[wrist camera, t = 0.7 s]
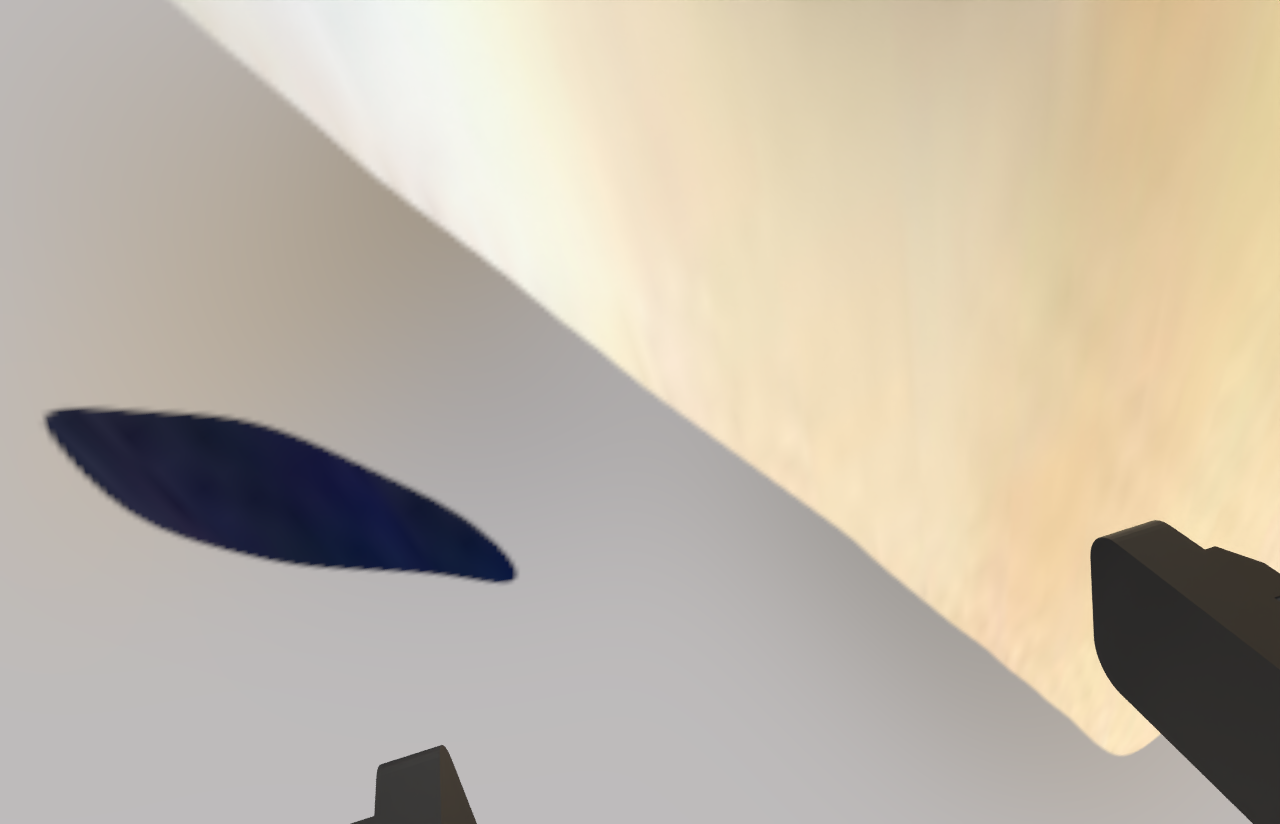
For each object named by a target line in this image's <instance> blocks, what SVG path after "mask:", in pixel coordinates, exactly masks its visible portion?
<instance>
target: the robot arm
mask: <svg viewBox="0 0 1280 824" xmlns="http://www.w3.org/2000/svg"><path fill="white" fill-rule="evenodd" d="M1091 580H1092V603H1093V626H1094V642H1095V648H1096V652H1097V655H1098V658H1099V661H1100V663H1101V665H1102V667H1103V670H1104V672H1105V673H1106V675H1107V677H1108V678H1109V680H1110V681H1111V683H1112V684H1113V686H1114V687H1115V688H1116V689H1117V690H1118V692H1119V693H1120V694H1121V695H1122V696H1123V697H1124V698H1125V699H1126V700H1127V701H1128V702H1129V703H1131V704H1132V705H1133V706H1134V707H1135V708H1136V709H1137V710H1138V711H1139V712H1140V713H1141V714H1142V715H1143V716H1144V717H1145V718H1146V719H1147V720H1148V721H1149V722H1150V723H1151V724H1152V725H1153V726H1154V727H1155V728H1156V729H1157V730H1158V731H1159V732H1160V733H1161V734H1162V735H1163V736H1164V737H1165V738H1166V739H1167V740H1168V741H1169V742H1170V743H1171V744H1172V745H1173V746H1174V747H1175V748H1176V749H1177V750H1178V751H1179V752H1180V753H1182V754H1183V755H1184V756H1185V757H1186V758H1187V759H1188V760H1189V761H1190V762H1191V763H1192V764H1193V765H1194V766H1195V767H1196V768H1197V769H1198V770H1199V771H1200V772H1201V773H1202V774H1203V775H1204V776H1205V777H1206V778H1207V779H1208V780H1209V781H1210V782H1211V783H1212V784H1213V785H1214V786H1215V787H1216V788H1217V789H1218V790H1219V791H1220V792H1221V793H1222V794H1223V795H1224V796H1225V797H1226V798H1227V799H1228V800H1230V802H1231V803H1232V804H1234V805H1235V806H1236V807H1237V808H1238V809H1239V810H1240V811H1241V812H1242V813H1243V814H1244V815H1245V816H1246V817H1247V818H1248V819H1249V820H1250V821H1251V822H1252V823H1253V824H1280V573H1278V572H1277V571H1275V570H1274V569H1272V568H1271V567H1269V566H1268V565H1266V564H1265V563H1262V562H1259V561H1256V560H1254V559H1251V558H1248V557H1245V556H1242V555H1239V554H1236V553H1233V552H1230V551H1227V550H1225V549H1222V548H1219V547H1216V546H1215V547H1212V548H1209V549H1203V548H1202V547H1200V546H1199V545H1197V544H1196V543H1194V542H1193V541H1192V540H1190V539H1189V538H1187V537H1186V536H1184V535H1183V534H1181V533H1180V532H1179V531H1177V530H1176V529H1174V528H1173V527H1171V526H1170V525H1168V524H1166V523H1165V522H1162V521H1157V520H1155V521H1150V522H1147V523H1144V524H1141V525H1138V526H1134V527H1131V528H1128V529H1125V530H1122V531H1119V532H1116V533H1113V534H1109V535H1106V536H1103V537H1100V538H1098V539H1096V540H1095V541H1094V542H1093V545H1092V547H1091ZM352 824H477V823H476V821H475V818H474V815H473V813H472V810H471V808H470V805H469V803H468V800H467V797H466V795H465V792H464V790H463V787H462V785H461V782H460V780H459V777H458V774H457V772H456V769H455V767H454V764H453V762H452V759H451V757H450V754H449V752H448V750H447V749H446V747H445V746H443V745H441V746H437V747H434V748H431V749H428V750H425V751H422V752H419V753H415V754H412V755H410V756H406V757H403V758H400V759H397V760H393V761H390V762H387V763H384V764H381V765H380V766H379V767H378V770H377V779H376V796H375V815H374V816H373V817H370V818H367V819H364V820H361V821H358V822H354V823H352Z"/></svg>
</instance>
